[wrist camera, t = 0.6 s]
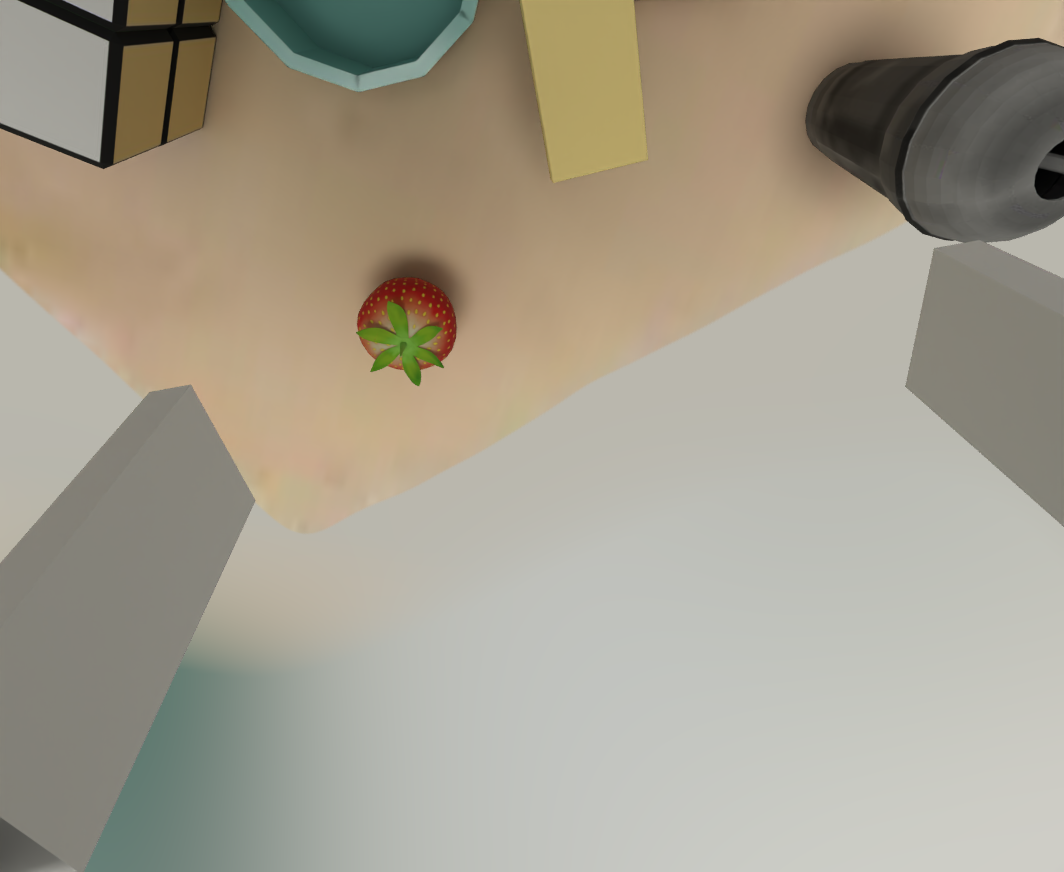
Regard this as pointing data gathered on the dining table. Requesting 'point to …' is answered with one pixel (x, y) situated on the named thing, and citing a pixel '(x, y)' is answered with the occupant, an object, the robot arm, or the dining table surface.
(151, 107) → the puzzle cube
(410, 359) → the fruit
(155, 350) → the dining table surface
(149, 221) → the dining table surface
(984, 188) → the beverage cup
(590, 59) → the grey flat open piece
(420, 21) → the bowl
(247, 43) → the dining table surface
